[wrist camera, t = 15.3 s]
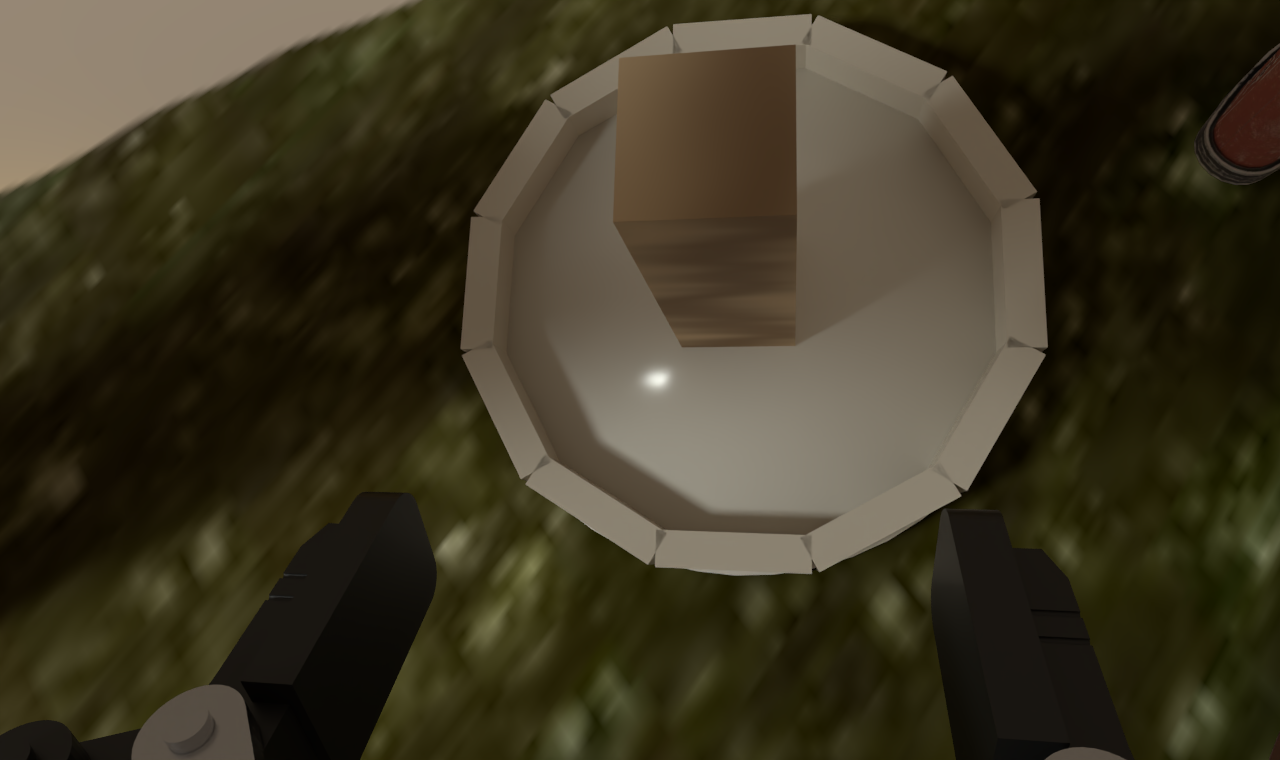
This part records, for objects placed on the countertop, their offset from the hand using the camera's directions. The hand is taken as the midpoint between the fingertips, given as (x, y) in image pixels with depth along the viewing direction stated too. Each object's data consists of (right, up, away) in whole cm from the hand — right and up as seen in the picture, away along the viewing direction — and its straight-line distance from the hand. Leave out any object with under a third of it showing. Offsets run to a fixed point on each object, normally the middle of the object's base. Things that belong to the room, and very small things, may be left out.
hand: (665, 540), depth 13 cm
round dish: (+3, +5, +18) cm, 19 cm away
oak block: (+3, +6, +17) cm, 19 cm away
